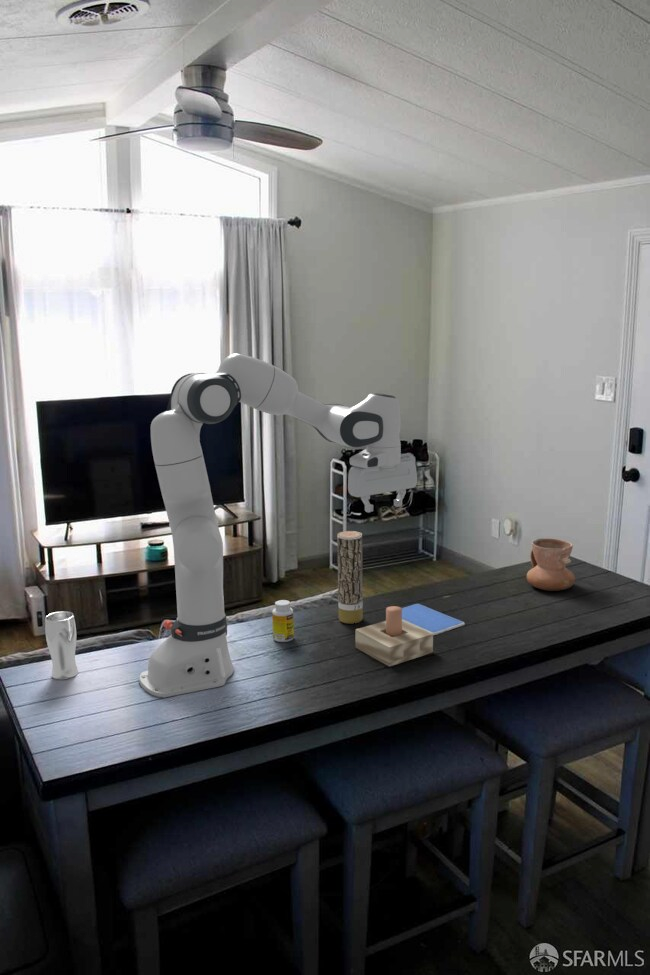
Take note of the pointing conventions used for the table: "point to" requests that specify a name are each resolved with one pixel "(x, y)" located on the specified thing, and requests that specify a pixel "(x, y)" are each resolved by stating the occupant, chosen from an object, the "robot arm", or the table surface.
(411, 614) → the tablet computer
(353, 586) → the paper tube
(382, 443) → the robot arm
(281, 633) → the supplement bottle
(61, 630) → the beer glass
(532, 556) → the ceramic jug
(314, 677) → the table surface
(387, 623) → the dowel
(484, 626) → the table surface
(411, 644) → the socket block
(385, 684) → the table surface
